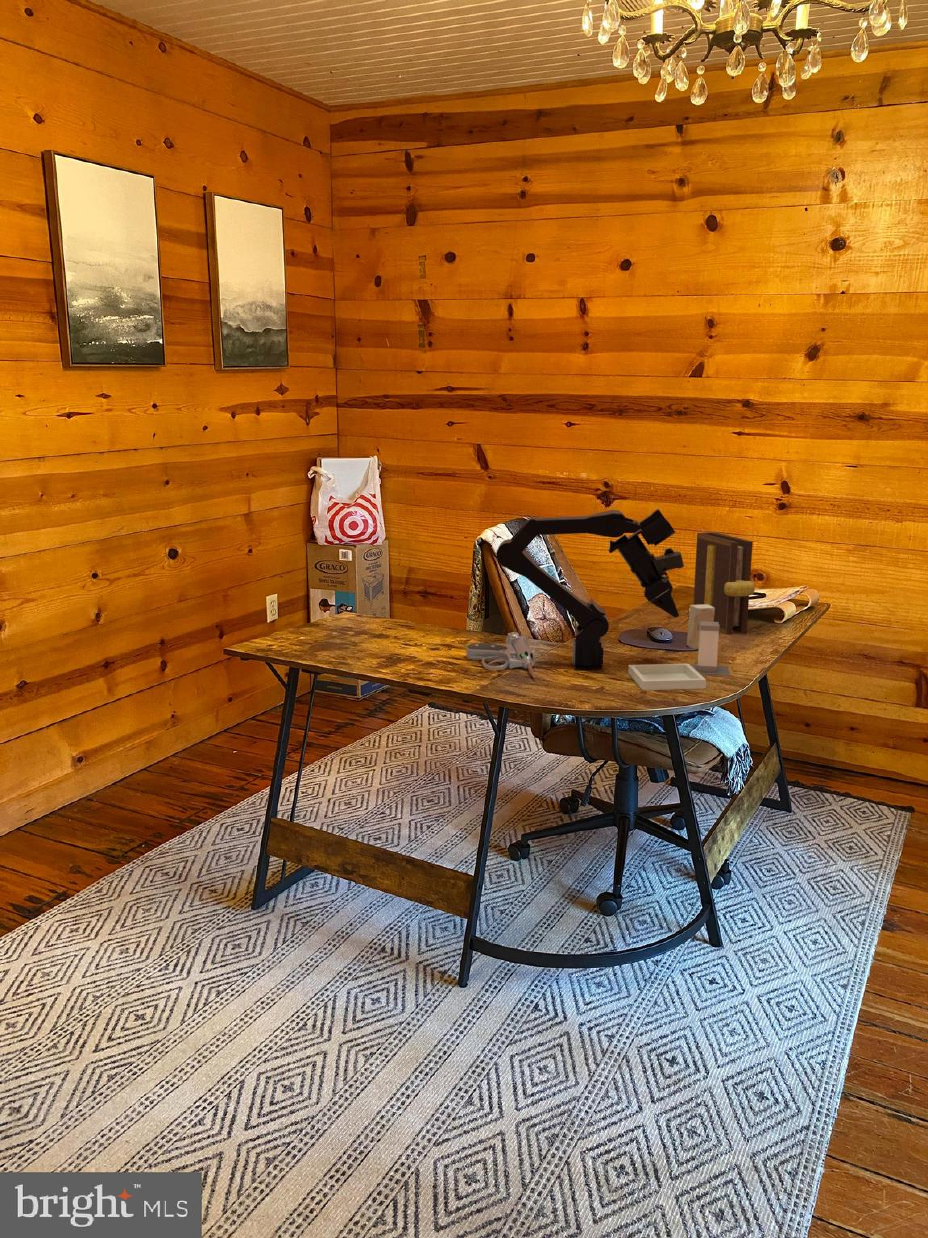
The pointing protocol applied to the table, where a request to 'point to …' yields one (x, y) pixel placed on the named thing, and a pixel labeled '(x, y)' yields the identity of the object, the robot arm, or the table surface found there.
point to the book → (724, 579)
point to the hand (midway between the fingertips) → (675, 612)
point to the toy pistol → (504, 653)
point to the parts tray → (666, 677)
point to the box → (698, 622)
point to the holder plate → (720, 671)
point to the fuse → (708, 646)
